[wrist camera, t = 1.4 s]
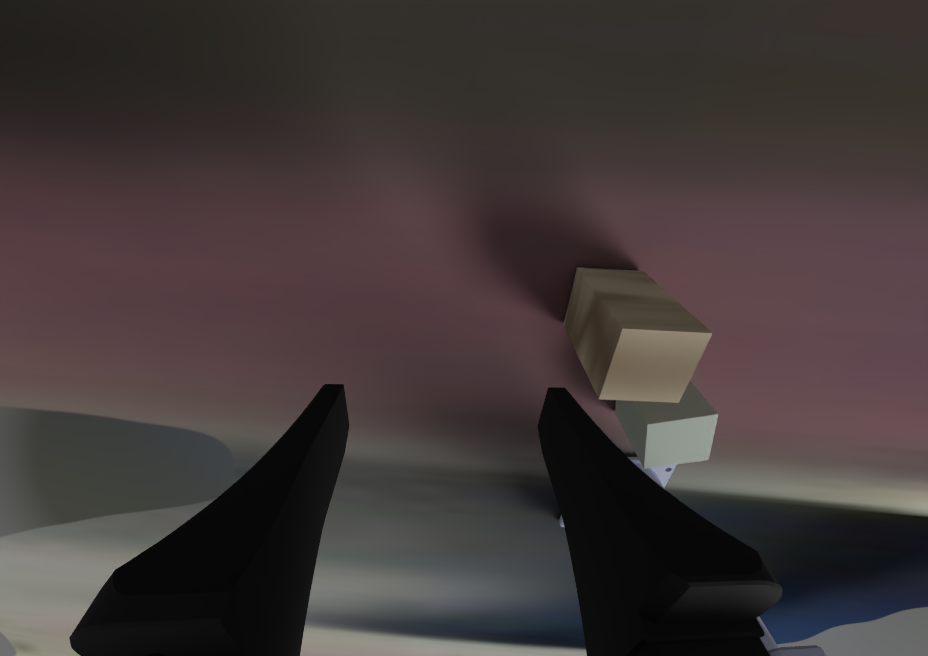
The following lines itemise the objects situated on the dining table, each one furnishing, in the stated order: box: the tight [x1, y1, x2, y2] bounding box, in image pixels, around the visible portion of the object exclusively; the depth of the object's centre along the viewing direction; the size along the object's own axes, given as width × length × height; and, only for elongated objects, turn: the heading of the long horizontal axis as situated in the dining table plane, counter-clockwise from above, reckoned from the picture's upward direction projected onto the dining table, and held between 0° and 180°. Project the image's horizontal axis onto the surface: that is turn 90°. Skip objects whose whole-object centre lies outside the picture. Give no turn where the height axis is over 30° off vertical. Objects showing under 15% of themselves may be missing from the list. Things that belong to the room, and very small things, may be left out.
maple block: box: [563, 267, 712, 403], centre depth 20 cm, size 4×4×7 cm
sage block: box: [615, 381, 718, 469], centre depth 25 cm, size 4×4×5 cm
